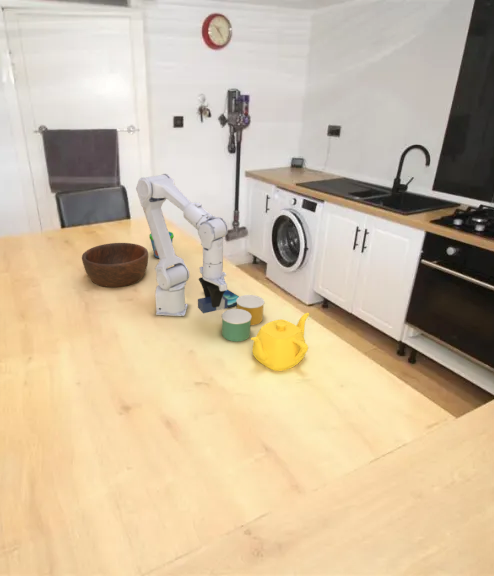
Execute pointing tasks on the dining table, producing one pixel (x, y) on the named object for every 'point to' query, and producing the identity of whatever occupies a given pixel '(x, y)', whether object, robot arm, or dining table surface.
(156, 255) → the snack cup
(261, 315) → the ochre yogurt pot
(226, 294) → the smartphone
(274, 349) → the teapot
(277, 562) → the dining table surface
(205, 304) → the block
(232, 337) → the yogurt pot
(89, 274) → the wooden bowl
